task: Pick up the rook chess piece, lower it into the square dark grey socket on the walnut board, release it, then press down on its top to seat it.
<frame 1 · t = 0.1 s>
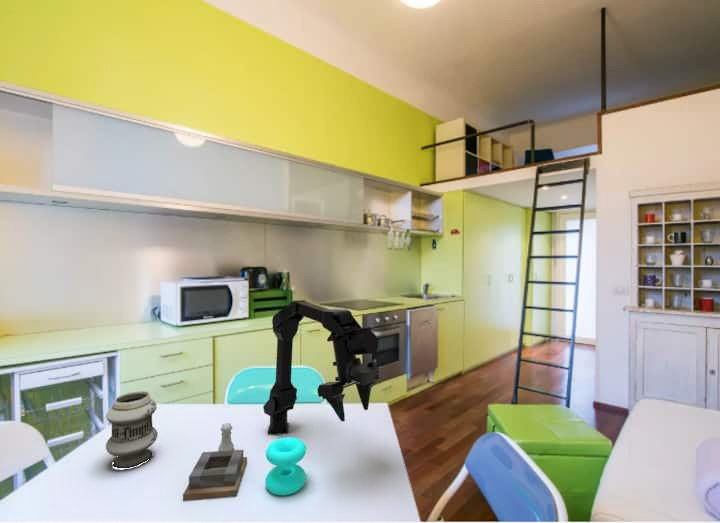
hand: (355, 415, 91), 15 cm above the table, tool pointing down, fingers open, 9 cm apart
rook chess piece: (226, 452, 100), on the table
socket board: (217, 479, 88), on the table
apothecary jar: (132, 460, 96), on the table
donuts: (285, 485, 86), on the table
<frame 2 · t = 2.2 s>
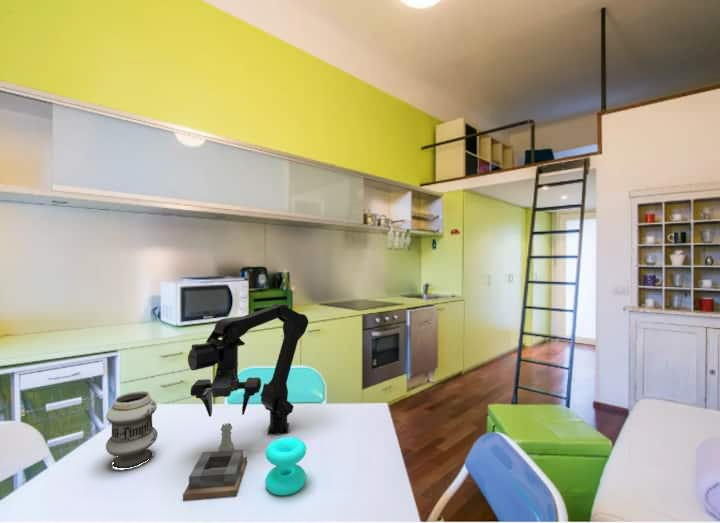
hand: (226, 415, 100), 11 cm above the table, tool pointing down, fingers open, 9 cm apart
nothing on the table moved.
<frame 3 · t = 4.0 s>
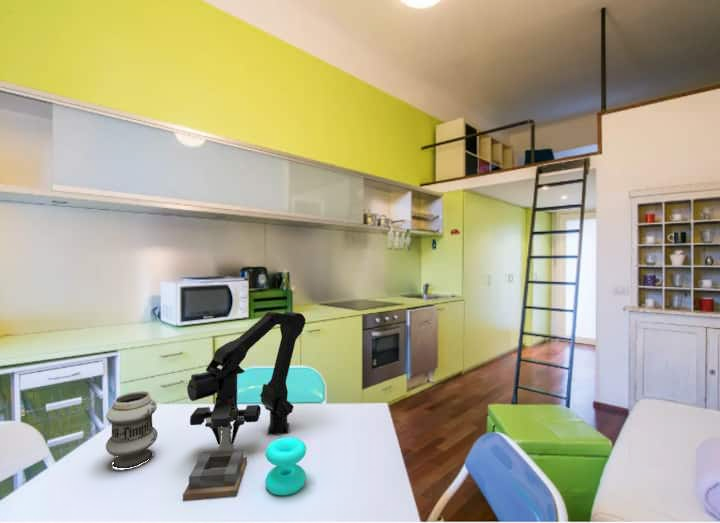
hand: (226, 443, 100), 3 cm above the table, tool pointing down, fingers closed on rook chess piece, 3 cm apart
rook chess piece: (226, 452, 100), on the table, touching gripper
everything else where it was.
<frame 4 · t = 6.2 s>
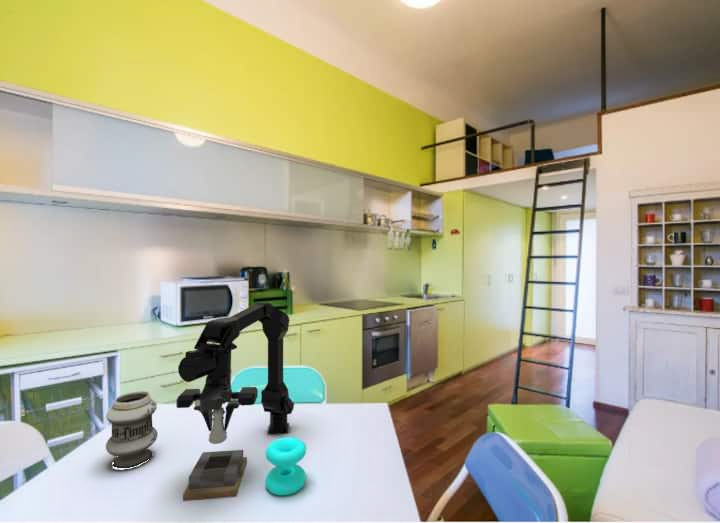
hand: (218, 430, 88), 13 cm above the table, tool pointing down, fingers closed on rook chess piece, 3 cm apart
rook chess piece: (217, 440, 88), point 10 cm above the table, touching gripper
everything else where it was.
when the fingers open (5 cm above the table, at t = 8.2 s): rook chess piece drops 1 cm, resting on socket board.
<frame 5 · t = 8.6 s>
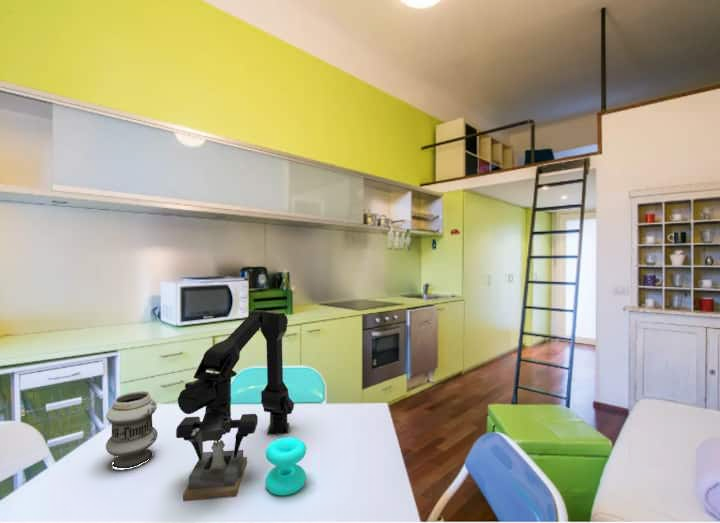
hand: (218, 458, 88), 5 cm above the table, tool pointing down, fingers open, 8 cm apart
rook chess piece: (218, 474, 88), point 1 cm above the table, touching socket board
everything else where it was.
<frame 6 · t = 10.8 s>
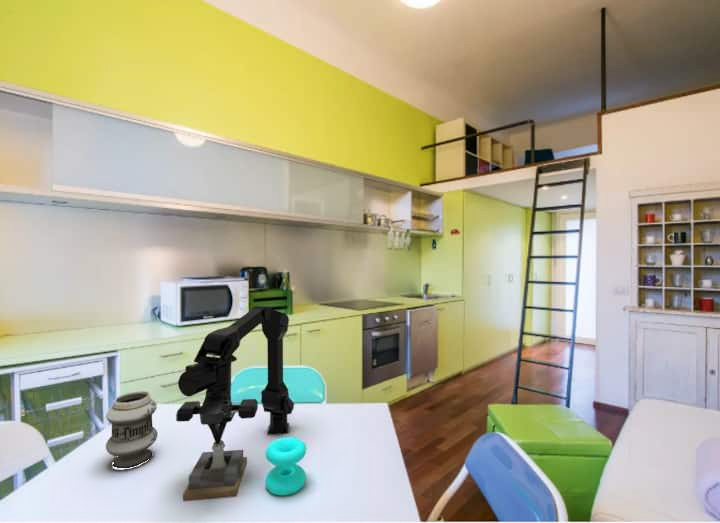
hand: (218, 442, 88), 9 cm above the table, tool pointing down, fingers closed, pressing on rook chess piece
rook chess piece: (218, 474, 88), point 1 cm above the table, touching gripper, socket board
everything else where it was.
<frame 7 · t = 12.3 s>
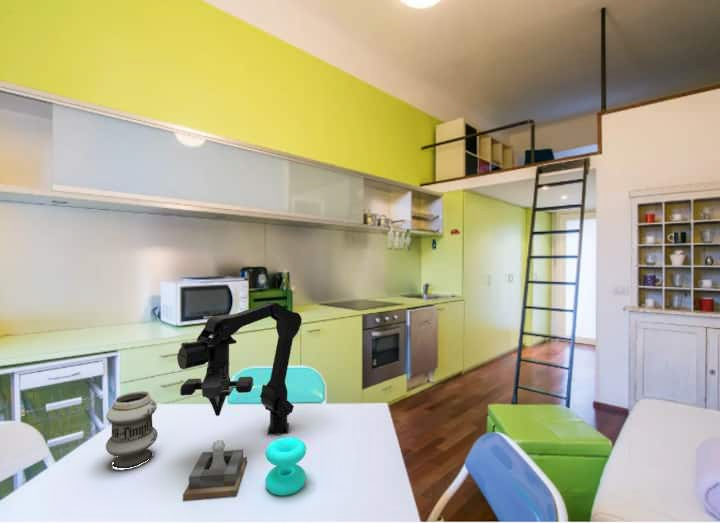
hand: (217, 415, 98), 12 cm above the table, tool pointing down, fingers closed
rook chess piece: (218, 474, 88), point 1 cm above the table, touching socket board
everything else where it was.
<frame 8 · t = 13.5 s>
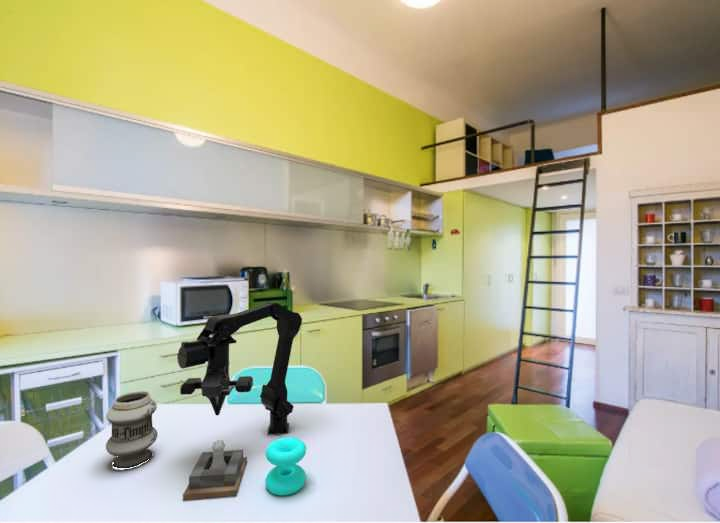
hand: (217, 414, 98), 12 cm above the table, tool pointing down, fingers closed
nothing on the table moved.
at the end: rook chess piece 0.1 cm off-centre on the socket board, point 1.3 cm above the socket board's base; rook chess piece tilted 0°; the gripper is holding nothing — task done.
